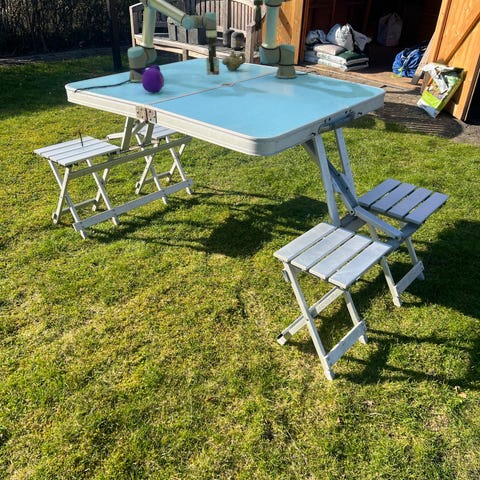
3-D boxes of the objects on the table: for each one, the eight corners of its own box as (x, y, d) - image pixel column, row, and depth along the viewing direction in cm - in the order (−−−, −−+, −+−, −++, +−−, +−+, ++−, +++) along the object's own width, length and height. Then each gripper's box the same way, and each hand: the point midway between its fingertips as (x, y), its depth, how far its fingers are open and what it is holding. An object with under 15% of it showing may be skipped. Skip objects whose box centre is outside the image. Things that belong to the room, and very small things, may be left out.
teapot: (225, 72, 362) (225, 52, 354) (219, 70, 371) (218, 51, 363) (248, 69, 371) (248, 50, 364) (241, 67, 380) (241, 48, 372)
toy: (156, 85, 322) (164, 98, 301) (131, 81, 314) (137, 93, 294) (160, 63, 314) (168, 74, 293) (135, 58, 306) (141, 69, 286)
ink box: (219, 73, 332) (219, 56, 326) (218, 75, 328) (217, 57, 322) (208, 73, 334) (207, 56, 328) (206, 74, 330) (205, 57, 324)
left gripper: (209, 35, 326) (211, 69, 338) (203, 38, 311) (205, 73, 323) (219, 35, 325) (220, 69, 337) (213, 38, 310) (215, 73, 322)
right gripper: (256, -1, 358) (256, 28, 369) (250, 0, 337) (250, 31, 347) (265, -1, 356) (265, 28, 367) (260, 0, 335) (260, 31, 346)
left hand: (213, 71), depth 330 cm, fingers closed on ink box, 5 cm apart
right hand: (258, 30), depth 357 cm, fingers open, 13 cm apart
